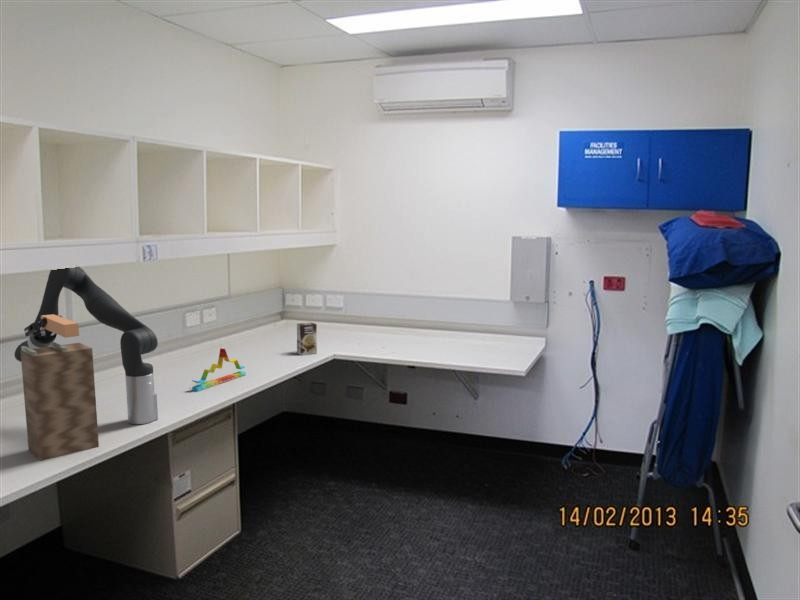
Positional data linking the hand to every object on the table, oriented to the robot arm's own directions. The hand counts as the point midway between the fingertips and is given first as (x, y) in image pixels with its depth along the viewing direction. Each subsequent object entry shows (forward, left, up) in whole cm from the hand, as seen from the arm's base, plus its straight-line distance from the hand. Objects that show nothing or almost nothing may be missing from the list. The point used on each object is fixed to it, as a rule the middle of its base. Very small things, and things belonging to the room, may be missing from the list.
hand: (53, 319), depth 211 cm
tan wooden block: (0, +6, -3) cm, 7 cm away
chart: (-71, -23, -40) cm, 84 cm away
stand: (+4, +15, -39) cm, 42 cm away
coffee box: (-133, -44, -39) cm, 146 cm away
